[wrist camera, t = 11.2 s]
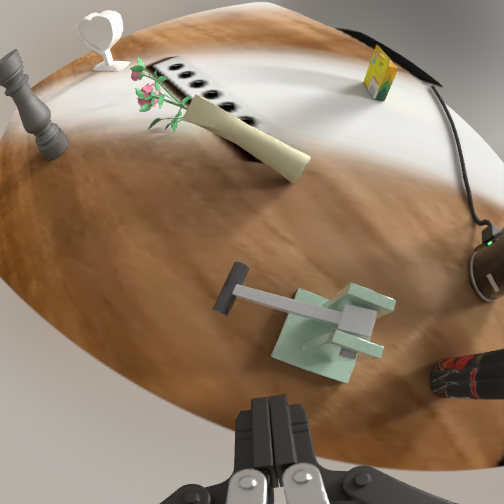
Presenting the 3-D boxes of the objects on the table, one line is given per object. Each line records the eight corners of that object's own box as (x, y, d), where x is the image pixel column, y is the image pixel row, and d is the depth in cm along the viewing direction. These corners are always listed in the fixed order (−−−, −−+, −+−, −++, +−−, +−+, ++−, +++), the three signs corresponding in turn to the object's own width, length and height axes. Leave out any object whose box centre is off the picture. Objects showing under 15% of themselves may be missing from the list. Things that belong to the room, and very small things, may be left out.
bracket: (269, 356, 32) (286, 354, 19) (296, 289, 35) (326, 247, 22) (344, 383, 31) (400, 391, 18) (366, 317, 34) (425, 289, 21)
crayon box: (384, 101, 51) (401, 62, 40) (373, 100, 51) (389, 59, 40) (373, 83, 54) (387, 46, 43) (362, 82, 54) (375, 43, 43)
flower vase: (272, 213, 48) (117, 122, 46) (307, 157, 48) (155, 77, 46) (284, 200, 36) (93, 94, 34) (327, 132, 36) (140, 42, 35)
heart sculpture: (88, 70, 56) (70, 22, 40) (99, 60, 58) (84, 13, 42) (122, 71, 54) (106, 15, 38) (135, 62, 56) (121, 7, 39)
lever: (218, 314, 29) (207, 306, 27) (239, 269, 31) (230, 258, 29) (363, 361, 21) (363, 356, 19) (381, 302, 23) (382, 292, 21)
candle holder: (70, 134, 46) (23, 43, 23) (66, 154, 44) (9, 59, 20) (48, 144, 45) (-3, 60, 22) (42, 164, 43) (-17, 78, 20)
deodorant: (429, 401, 29) (504, 405, 15) (429, 361, 31) (506, 350, 17) (457, 392, 29) (530, 390, 15) (457, 355, 31) (530, 340, 17)
